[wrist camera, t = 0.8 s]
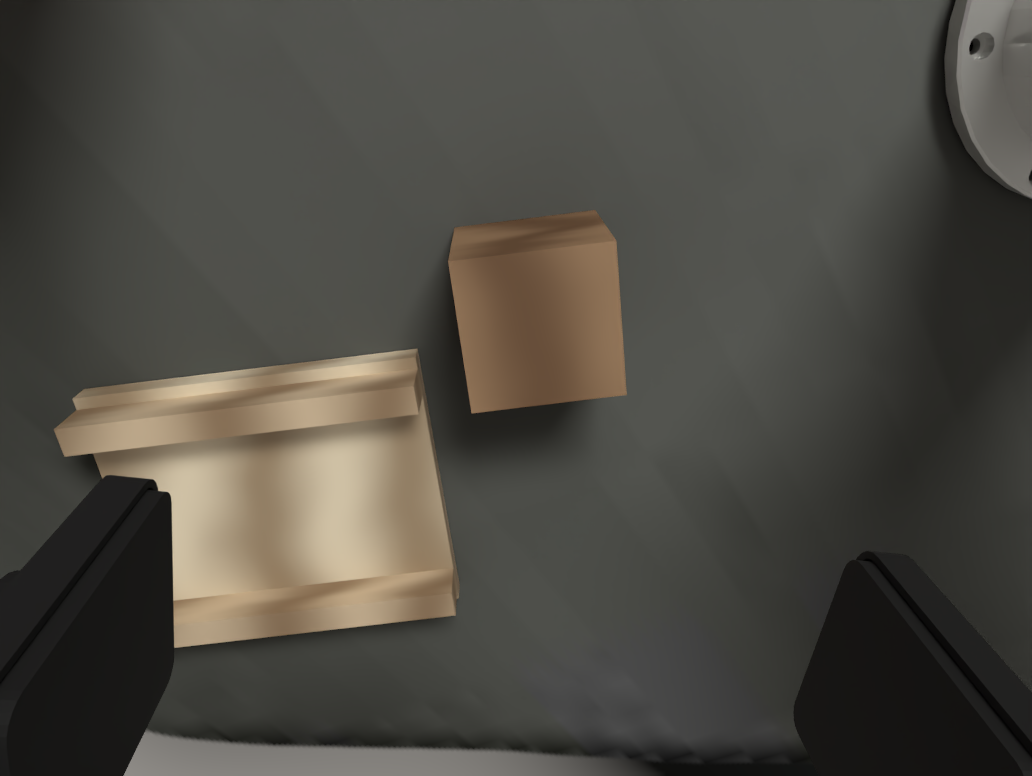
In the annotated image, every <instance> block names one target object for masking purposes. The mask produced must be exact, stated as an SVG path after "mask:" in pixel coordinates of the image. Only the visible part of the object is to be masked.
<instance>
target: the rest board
mask: <svg viewBox="0 0 1032 776" xmlns="http://www.w3.org/2000/svg"><path fill="white" fill-rule="evenodd" d="M73 402H74V404H75V407H76V411H75V412H74V413H72V414H71V415H70V416H69V417H68V418H67V419H65V420H64V421H63V422H62V423H61V424H60V425H58V426H57V427H56V428H55V429H54V431H55V434H56V436H57V439H58V441H59V444H60V446H61V449H62V451H63V454H64V457H66V456H74V455H83V454H91V453H93V455H94V458H95V460H96V463H97V466H98V468H99V471H100V474H101V476H102V478H104V477H105V476H106V475H116V476H126V477H136V478H145V479H153V480H154V481H155V482H156V483H157V486H158V491H163V492H168V493H169V494H170V496H171V502H172V550H173V606H174V648H178V647H186V646H195V645H204V644H212V643H221V642H230V641H238V640H247V639H256V638H264V637H273V636H282V635H290V634H299V633H308V632H316V631H325V630H334V629H342V628H351V627H359V626H368V625H377V624H385V623H394V622H403V621H411V620H420V619H429V618H437V617H446V616H455V615H456V601H457V598H459V579H458V573H457V568H456V562H455V557H454V551H453V545H452V540H451V534H450V528H449V523H448V517H447V512H446V506H445V500H444V495H443V489H442V483H441V478H440V472H439V467H438V461H437V455H436V450H435V444H434V438H433V433H432V427H431V421H430V416H429V410H428V405H427V399H426V393H425V388H424V382H423V376H422V371H421V365H420V360H419V354H418V349H410V350H402V351H394V352H386V353H377V354H369V355H361V356H353V357H344V358H336V359H328V360H320V361H311V362H303V363H295V364H287V365H278V366H270V367H262V368H254V369H245V370H237V371H229V372H221V373H212V374H204V375H196V376H188V377H179V378H171V379H163V380H155V381H146V382H138V383H130V384H122V385H113V386H105V387H97V388H89V389H84V390H82V391H81V392H80V393H79V394H78V395H76V396H75V397H74V398H73Z"/></svg>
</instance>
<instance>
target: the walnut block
mask: <svg viewBox="0 0 1032 776" xmlns="http://www.w3.org/2000/svg"><path fill="white" fill-rule="evenodd" d="M448 264H449V271H450V277H451V284H452V290H453V296H454V303H455V309H456V316H457V322H458V329H459V335H460V342H461V348H462V355H463V361H464V368H465V374H466V380H467V387H468V393H469V400H470V406H471V413H480V412H488V411H496V410H505V409H513V408H521V407H529V406H538V405H546V404H554V403H563V402H571V401H579V400H587V399H596V398H604V397H612V396H621V395H627V394H626V379H625V364H624V349H623V334H622V319H621V304H620V289H619V274H618V259H617V244H616V240H615V238H614V237H613V235H612V234H611V232H610V231H609V229H608V228H607V227H606V225H605V224H604V222H603V221H602V219H601V218H600V216H599V215H598V214H597V212H596V211H595V210H592V211H584V212H576V213H568V214H560V215H552V216H544V217H536V218H528V219H520V220H512V221H504V222H496V223H487V224H479V225H471V226H463V227H455V228H454V234H453V239H452V244H451V249H450V254H449V259H448Z"/></svg>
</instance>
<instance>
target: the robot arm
mask: <svg viewBox="0 0 1032 776" xmlns="http://www.w3.org/2000/svg"><path fill="white" fill-rule="evenodd" d="M971 41H973V48H972V50H971V51H970V52H969V46H970V43H971ZM944 61H945V85H946V95H947V100H948V104H949V108H950V112H951V116H952V120H953V124H954V126H955V128H956V130H957V132H958V134H959V136H960V138H961V140H962V142H963V144H964V147H965V149H966V150H967V152H968V153H969V154H970V155H971V157H972V158H973V159H974V160H975V161H976V163H977V164H978V165H979V166H980V168H981V169H982V170H983V171H984V172H985V173H986V174H987V175H989V176H990V177H991V178H993V179H994V180H996V181H997V182H998V183H1000V184H1001V185H1002V186H1004V187H1005V188H1006V189H1008V190H1011V191H1013V192H1015V193H1018V194H1020V195H1023V196H1025V197H1027V198H1030V199H1032V0H956V2H955V5H954V8H953V12H952V15H951V18H950V21H949V28H948V36H947V43H946V50H945V58H944ZM173 663H174V606H173V550H172V502H171V496H170V494H169V493H168V492H163V491H158V486H157V483H156V482H155V481H154V480H153V479H145V478H136V477H126V476H116V475H106V476H105V477H104V478H102V479H101V480H100V481H99V483H98V484H97V485H96V486H95V487H94V488H93V489H92V490H91V492H90V493H89V494H88V495H87V496H86V497H85V498H84V500H83V501H82V502H81V503H80V504H79V505H78V506H77V507H76V509H75V510H74V511H73V512H72V513H71V514H70V515H69V516H68V518H67V519H66V520H65V521H64V522H63V523H62V524H61V525H60V527H59V528H58V529H57V530H56V531H55V532H54V533H53V534H52V536H51V537H50V538H49V539H48V540H47V541H46V542H45V543H44V545H43V546H42V547H41V548H40V549H39V550H38V551H37V553H36V554H35V555H34V556H33V557H32V558H31V559H30V560H29V562H28V563H27V564H26V565H25V566H24V567H23V568H22V569H21V571H13V572H10V573H8V574H6V575H5V576H4V577H3V578H2V579H0V776H123V775H124V773H125V771H126V769H127V767H128V765H129V763H130V761H131V759H132V757H133V755H134V752H135V750H136V748H137V746H138V744H139V742H140V740H141V738H142V736H143V734H144V732H145V730H146V728H147V726H148V724H149V722H150V720H151V718H152V716H153V714H154V711H155V709H156V707H157V705H158V703H159V701H160V699H161V697H162V695H163V693H164V691H165V689H166V687H167V684H168V682H169V679H170V676H171V673H172V668H173ZM794 722H795V727H796V729H797V732H798V734H799V736H800V738H801V740H802V742H803V744H804V746H805V748H806V750H807V752H808V754H809V756H810V758H811V760H812V762H813V764H814V767H815V768H816V770H817V773H818V775H819V776H1032V693H1031V691H1030V690H1029V689H1028V688H1027V687H1026V686H1025V685H1024V684H1023V683H1022V681H1021V680H1020V679H1019V678H1018V677H1017V676H1016V675H1015V674H1014V672H1013V671H1012V670H1011V669H1010V668H1009V667H1008V666H1007V665H1006V664H1005V662H1004V661H1003V660H1002V659H1001V658H1000V657H999V656H998V655H997V653H996V652H995V651H994V650H993V649H992V648H991V647H990V646H989V645H988V643H987V642H986V641H985V640H984V639H983V638H982V637H981V636H980V635H979V633H978V632H977V631H976V630H975V629H974V628H973V627H972V626H971V624H970V623H969V622H968V621H967V620H966V619H965V618H964V617H963V616H962V614H961V613H960V612H959V611H958V610H957V609H956V608H955V607H954V605H953V604H952V603H951V602H950V601H949V600H948V599H947V598H946V597H945V595H944V594H943V593H942V592H941V591H940V590H939V589H938V588H937V586H936V585H935V584H934V583H933V582H932V581H931V580H930V579H929V578H928V576H927V575H926V574H925V573H924V572H923V571H922V570H921V569H920V568H919V566H918V565H917V564H916V563H915V562H914V561H913V560H912V559H911V558H910V557H908V556H906V555H901V554H891V553H881V552H871V551H866V552H863V553H861V554H860V555H859V556H858V557H857V559H856V560H852V561H850V562H849V563H848V564H847V565H846V567H845V569H844V571H843V574H842V576H841V579H840V582H839V585H838V587H837V590H836V593H835V595H834V598H833V601H832V603H831V606H830V609H829V612H828V614H827V617H826V620H825V622H824V625H823V628H822V631H821V633H820V636H819V639H818V641H817V644H816V647H815V650H814V652H813V655H812V658H811V660H810V663H809V666H808V668H807V671H806V674H805V677H804V679H803V682H802V685H801V687H800V690H799V693H798V696H797V698H796V701H795V705H794Z"/></svg>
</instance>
